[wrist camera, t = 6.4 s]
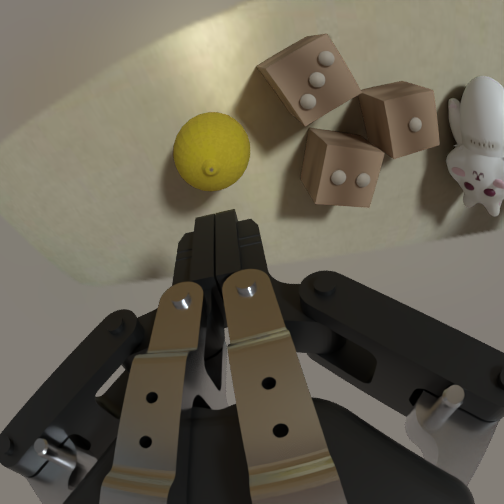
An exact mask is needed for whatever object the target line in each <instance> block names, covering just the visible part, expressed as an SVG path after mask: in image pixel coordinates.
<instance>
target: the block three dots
mask: <svg viewBox="0 0 504 504" xmlns="http://www.w3.org/2000/svg"><path fill="white" fill-rule="evenodd" d="M256 67H257V68H258V69H259V71H260V72H261V73H262V75H263V76H264V77H265V79H266V80H267V81H268V83H269V84H270V86H271V87H272V88H273V90H274V91H275V92H276V94H277V95H278V97H279V98H280V100H281V101H282V102H283V104H284V105H285V107H286V108H287V110H288V111H289V113H290V114H292V115H293V116H294V117H295V118H296V119H298V120H299V121H300V122H301V123H302V124H303V125H304V126H307V125H309V124H310V123H312V122H313V121H315V120H317V119H318V118H320V117H322V116H323V115H325V114H327V113H328V112H330V111H332V110H333V109H335V108H337V107H338V106H340V105H342V104H343V103H345V102H347V101H348V100H350V99H352V98H354V97H355V96H357V95H359V94H361V93H362V92H361V90H360V88H359V86H358V84H357V82H356V81H355V79H354V77H353V75H352V73H351V72H350V70H349V68H348V66H347V65H346V63H345V61H344V60H343V58H342V56H341V55H340V53H339V51H338V50H337V48H336V47H335V45H334V43H333V42H332V40H331V39H330V37H329V36H328V34H321V35H314V36H307V37H305V38H303V39H301V40H299V41H298V42H296V43H294V44H292V45H291V46H289V47H287V48H285V49H284V50H282V51H280V52H278V53H277V54H275V55H273V56H272V57H270V58H268V59H267V60H265V61H264V62H262V63H260V64H259V65H257V66H256Z"/></svg>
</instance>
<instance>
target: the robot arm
mask: <svg viewBox="0 0 504 504" xmlns="http://www.w3.org/2000/svg"><path fill="white" fill-rule="evenodd" d="M227 327H228V332H229V338H230V344H229V345H228V347H227V345H226V342H225V336H224V335H225V334H224V328H227ZM227 349H228V357H229V364H230V370H231V376H232V382H233V388H234V393H235V399H236V404H234V405H231V406H229V407H228V403H227V400H226V365H227ZM296 352H302V353H307V355H308V356H309V357H310V358H311V359H312V360H314V361H315V362H317V363H319V364H320V365H322V366H323V367H325V368H327V369H328V370H330V371H331V372H333V373H335V374H336V375H337V376H339V377H341V378H342V379H344V380H345V381H347V382H349V383H350V384H352V385H354V386H355V387H357V388H358V389H360V390H362V391H364V392H365V393H367V394H368V395H370V396H372V397H373V398H375V399H377V400H378V401H380V402H382V403H384V404H385V405H387V406H389V407H391V408H392V409H394V410H396V411H397V412H399V413H401V414H403V415H404V416H406V417H407V418H406V422H405V429H406V433H407V436H408V437H409V439H410V440H411V441H412V442H413V443H414V444H416V445H417V446H418V447H419V448H420V449H421V451H422V453H423V456H424V459H423V458H422V457H420V456H418V455H417V454H415V453H414V452H412V451H410V450H409V449H407V448H405V447H404V446H402V445H401V444H399V443H397V442H396V441H394V440H393V439H391V438H390V437H388V436H386V435H385V434H383V433H382V432H380V431H379V430H377V429H376V428H374V427H373V426H371V425H370V424H368V423H367V422H365V421H364V420H362V419H360V418H359V417H358V416H356V415H355V414H354V413H352V412H351V411H349V410H348V409H346V408H344V407H342V406H340V405H338V404H336V403H333V402H331V401H328V400H324V399H320V398H312V397H311V395H310V392H309V389H308V386H307V383H306V380H305V377H304V374H303V371H302V368H301V365H300V362H299V359H298V356H297V353H296ZM120 365H122V366H123V367H124V368H125V371H124V372H123V373H122V374H121V375H120V377H119V378H118V379H117V380H116V381H115V382H114V383H113V384H112V385H111V387H110V388H109V389H108V390H107V391H106V392H105V393H104V394H103V395H102V396H100V397H95V395H96V393H97V391H98V390H99V389H100V388H101V387H102V385H103V384H104V383H105V382H106V381H107V380H108V379H109V378H110V376H111V375H112V374H113V373H114V372H115V371H116V370H117V369H118V368H119V367H120ZM502 417H504V353H503V352H500V351H499V350H496V349H495V348H493V347H491V346H489V345H487V344H485V343H482V342H481V341H479V340H477V339H475V338H473V337H470V336H469V335H467V334H465V333H462V332H461V331H459V330H456V329H454V328H452V327H450V326H448V325H446V324H444V323H442V322H440V321H438V320H436V319H434V318H432V317H430V316H428V315H426V314H424V313H422V312H419V311H417V310H415V309H413V308H411V307H409V306H407V305H405V304H402V303H400V302H398V301H397V300H394V299H392V298H390V297H388V296H386V295H384V294H382V293H380V292H378V291H376V290H373V289H371V288H369V287H367V286H365V285H363V284H361V283H359V282H356V281H354V280H352V279H350V278H348V277H346V276H344V275H341V274H339V273H337V272H333V271H318V272H315V273H312V274H310V275H308V276H307V277H306V278H304V280H303V281H302V282H301V284H287V283H282V282H279V281H277V280H275V279H274V278H273V277H272V276H271V275H270V274H269V272H268V269H267V264H266V259H265V255H264V250H263V245H262V241H261V236H260V232H259V227H258V225H257V224H256V223H255V222H254V221H253V220H252V219H247V220H243V221H238V219H237V215H236V212H235V209H232V210H228V211H223V212H219V213H216V215H215V214H210V215H206V216H202V217H197V218H196V219H195V227H194V232H190V233H185V234H184V236H183V237H182V239H181V240H180V241H179V243H178V249H177V256H176V262H175V269H174V276H173V283H172V287H170V288H169V289H167V290H166V291H165V292H164V293H163V295H162V297H161V298H160V302H159V305H158V308H157V309H155V310H153V311H152V312H149V313H147V314H145V315H142V316H140V317H138V318H137V317H136V315H135V314H134V313H133V312H132V311H130V310H125V309H123V310H118V311H115V312H113V313H111V314H110V315H108V316H107V317H106V318H105V319H104V320H103V321H102V322H101V323H100V324H99V325H98V326H97V327H96V328H95V329H94V330H93V331H92V332H91V333H90V334H89V335H88V336H87V337H86V338H85V339H84V340H83V342H81V343H80V344H79V346H78V347H77V348H76V349H75V350H74V351H73V352H72V353H71V354H70V355H69V356H68V357H67V358H66V359H65V360H64V361H63V363H62V364H61V365H60V366H59V367H58V368H57V369H56V370H55V371H54V372H53V373H52V375H51V376H50V377H49V378H48V379H47V380H46V381H45V382H44V383H43V385H42V386H41V387H40V388H39V389H38V390H37V391H36V392H35V394H34V395H33V396H32V397H31V398H30V399H29V400H28V402H27V403H26V404H25V405H24V406H23V408H22V409H21V410H20V411H19V412H18V413H17V414H16V416H15V417H14V418H13V419H12V420H11V422H10V423H9V424H8V425H7V427H6V428H5V429H4V430H3V431H2V433H1V434H0V463H1V464H2V465H3V466H5V467H7V468H9V469H11V470H13V471H15V472H17V473H19V474H21V475H22V476H24V477H25V478H26V479H27V480H28V482H29V483H30V485H31V487H32V488H33V490H34V492H35V493H36V495H37V496H38V497H39V499H40V501H41V502H42V504H475V503H474V498H473V496H472V494H471V492H470V490H469V488H468V487H467V485H468V484H469V482H470V480H471V478H472V477H473V475H474V473H475V471H476V469H477V467H478V466H479V464H480V462H481V460H482V458H483V456H484V454H485V452H486V449H487V447H488V445H489V443H490V441H491V439H492V436H493V434H494V432H495V429H496V427H497V425H498V422H499V421H500V419H501V418H502Z"/></svg>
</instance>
